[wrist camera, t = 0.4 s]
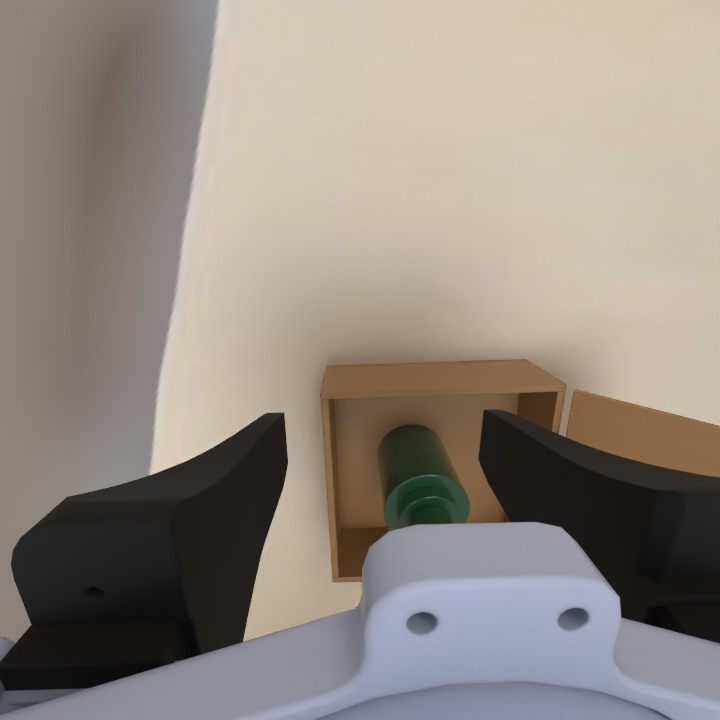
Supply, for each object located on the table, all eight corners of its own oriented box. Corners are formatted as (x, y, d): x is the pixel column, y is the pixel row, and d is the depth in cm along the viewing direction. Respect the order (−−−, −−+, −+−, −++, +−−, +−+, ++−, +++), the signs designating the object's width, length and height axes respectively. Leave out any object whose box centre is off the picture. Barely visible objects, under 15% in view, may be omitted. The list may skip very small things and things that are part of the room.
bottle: (442, 481, 25) (487, 596, 16) (377, 484, 25) (390, 600, 16) (445, 422, 23) (496, 515, 15) (376, 425, 23) (390, 520, 15)
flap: (573, 390, 18) (575, 389, 18) (540, 583, 21) (543, 580, 22) (757, 437, 13) (757, 435, 13) (673, 673, 17) (675, 668, 17)
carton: (526, 359, 22) (566, 384, 18) (506, 522, 26) (536, 573, 22) (326, 365, 22) (320, 393, 18) (335, 529, 26) (332, 582, 22)
